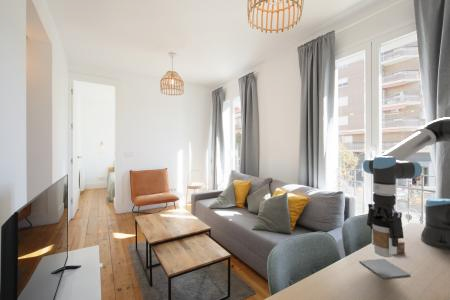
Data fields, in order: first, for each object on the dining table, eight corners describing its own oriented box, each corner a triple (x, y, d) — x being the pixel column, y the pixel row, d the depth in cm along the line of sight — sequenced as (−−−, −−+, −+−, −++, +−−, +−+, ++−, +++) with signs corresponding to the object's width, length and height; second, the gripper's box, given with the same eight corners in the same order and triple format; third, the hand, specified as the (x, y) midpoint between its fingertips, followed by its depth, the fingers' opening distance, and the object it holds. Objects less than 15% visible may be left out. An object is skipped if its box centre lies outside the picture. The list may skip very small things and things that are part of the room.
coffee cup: (401, 260, 85) (401, 222, 85) (376, 258, 87) (377, 220, 86) (389, 250, 93) (389, 215, 93) (367, 248, 95) (367, 214, 95)
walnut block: (394, 247, 108) (395, 237, 108) (404, 252, 104) (404, 242, 103) (386, 248, 108) (386, 238, 108) (395, 253, 103) (395, 243, 103)
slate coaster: (383, 260, 97) (383, 258, 97) (410, 275, 85) (410, 274, 85) (359, 262, 95) (359, 260, 95) (383, 278, 83) (383, 277, 83)
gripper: (357, 189, 99) (356, 238, 100) (399, 200, 79) (398, 262, 79) (371, 188, 100) (371, 237, 101) (417, 199, 80) (416, 261, 80)
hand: (383, 248), depth 90 cm, fingers closed on coffee cup, 8 cm apart
